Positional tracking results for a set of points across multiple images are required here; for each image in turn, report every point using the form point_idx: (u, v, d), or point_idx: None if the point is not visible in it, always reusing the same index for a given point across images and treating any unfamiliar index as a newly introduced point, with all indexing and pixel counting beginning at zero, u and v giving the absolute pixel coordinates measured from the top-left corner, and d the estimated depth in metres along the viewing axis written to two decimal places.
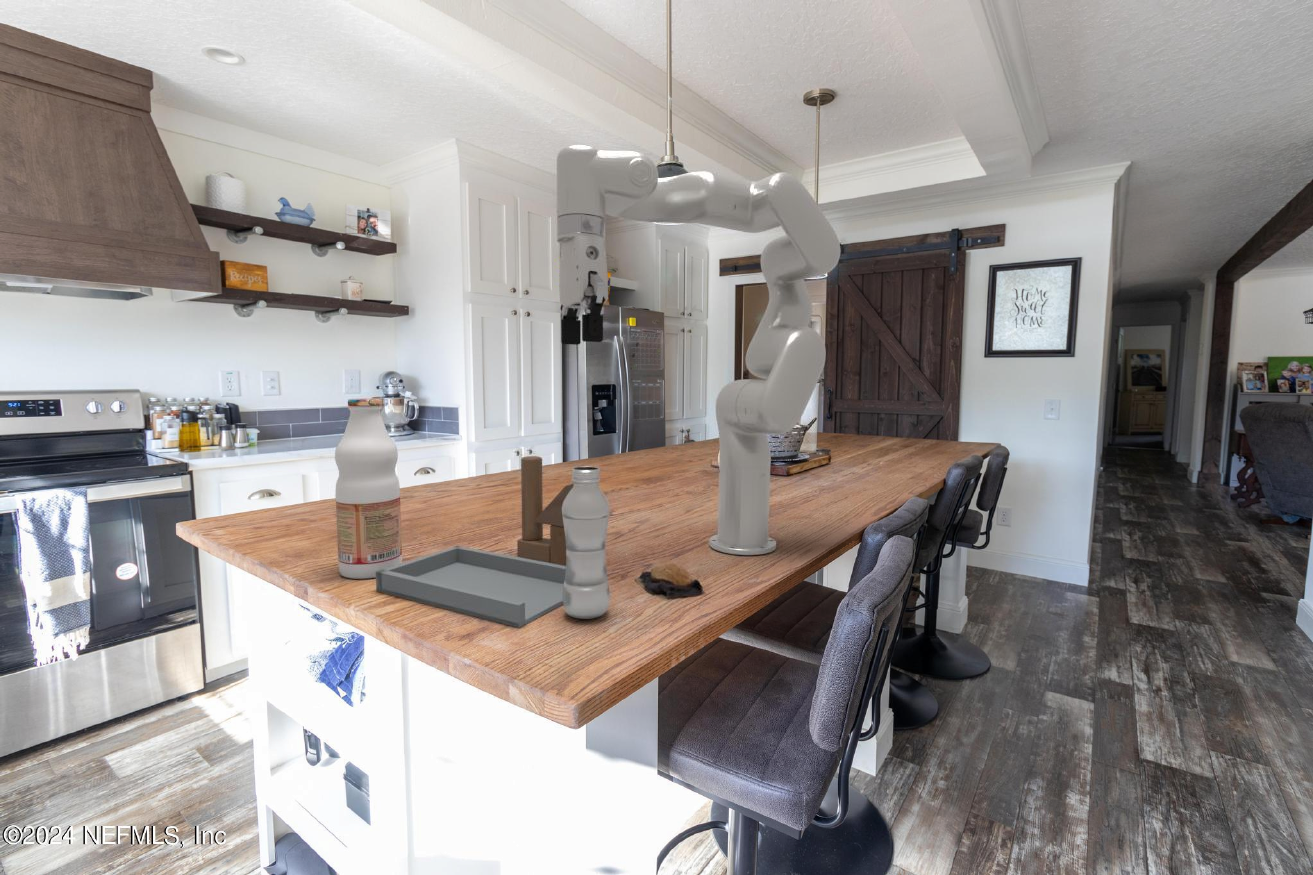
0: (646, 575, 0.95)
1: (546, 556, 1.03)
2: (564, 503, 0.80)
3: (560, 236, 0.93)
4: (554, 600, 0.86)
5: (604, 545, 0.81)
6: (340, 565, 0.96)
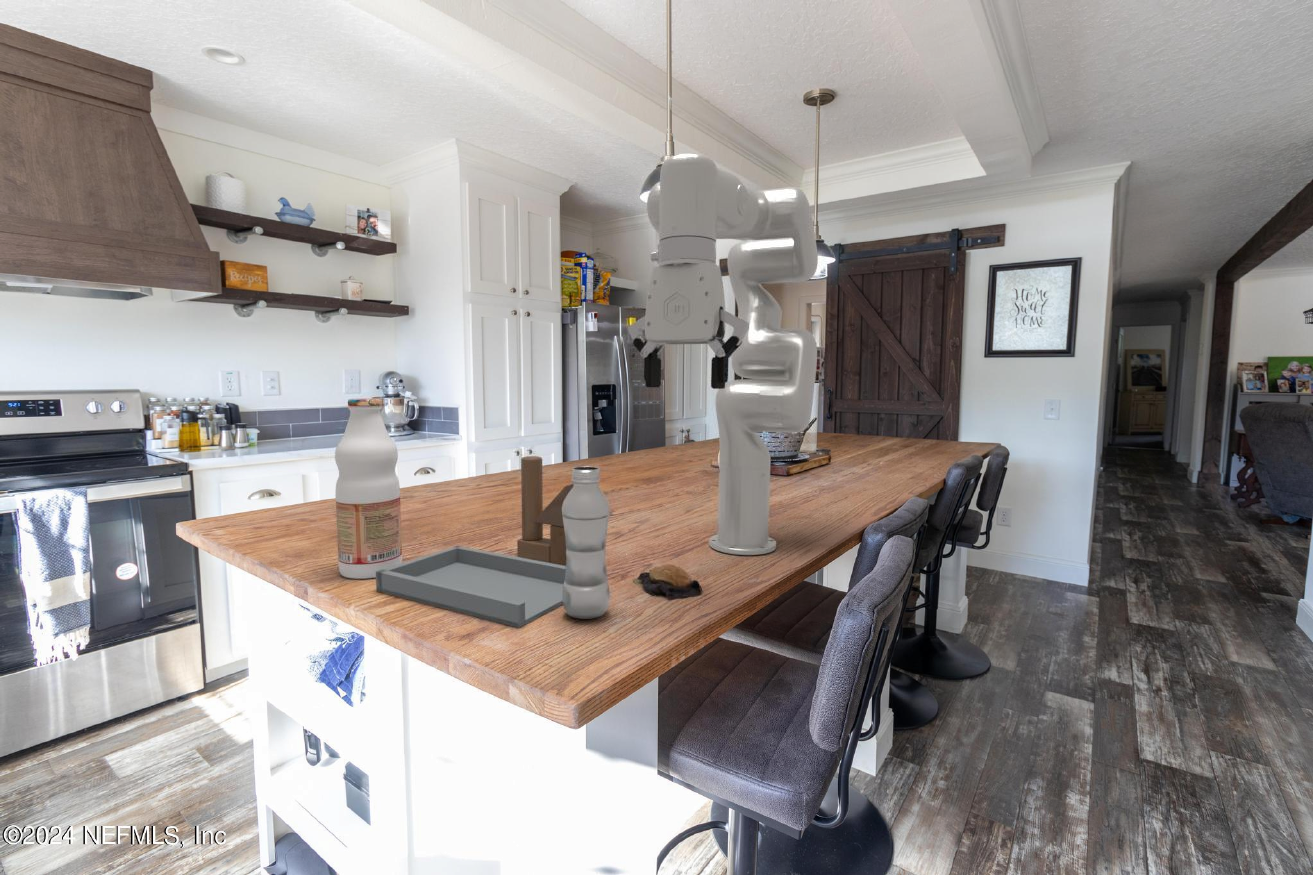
0: (644, 576, 0.95)
1: (546, 556, 1.03)
2: (564, 503, 0.80)
3: None
4: (554, 600, 0.86)
5: (604, 545, 0.81)
6: (340, 565, 0.96)
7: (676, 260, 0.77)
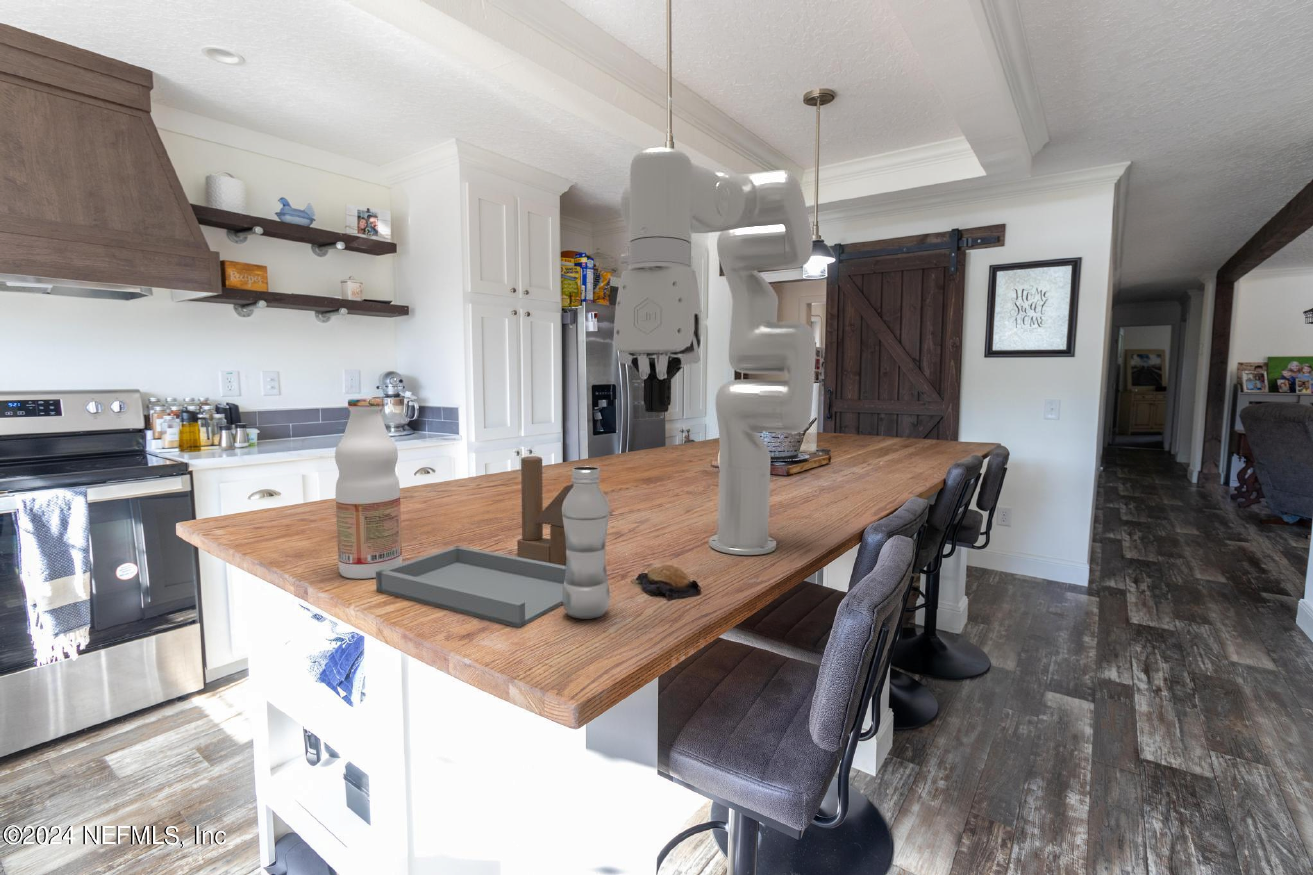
0: (643, 577, 0.95)
1: (546, 556, 1.03)
2: (564, 503, 0.80)
3: None
4: (554, 600, 0.86)
5: (604, 545, 0.81)
6: (340, 565, 0.96)
7: (647, 263, 0.71)
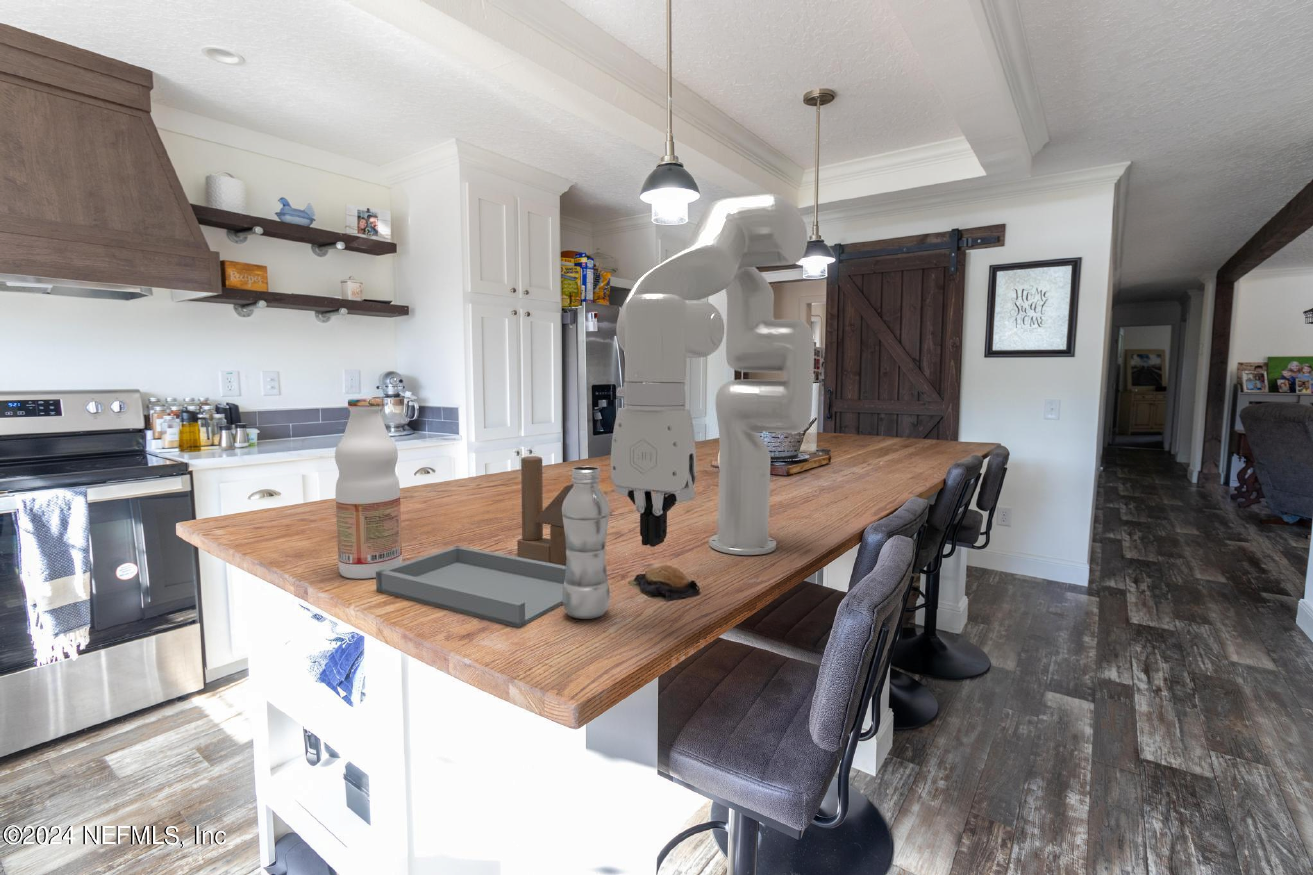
0: (640, 577, 0.94)
1: (546, 556, 1.03)
2: (564, 503, 0.80)
3: None
4: (554, 600, 0.86)
5: (604, 545, 0.81)
6: (340, 565, 0.96)
7: (642, 407, 0.72)
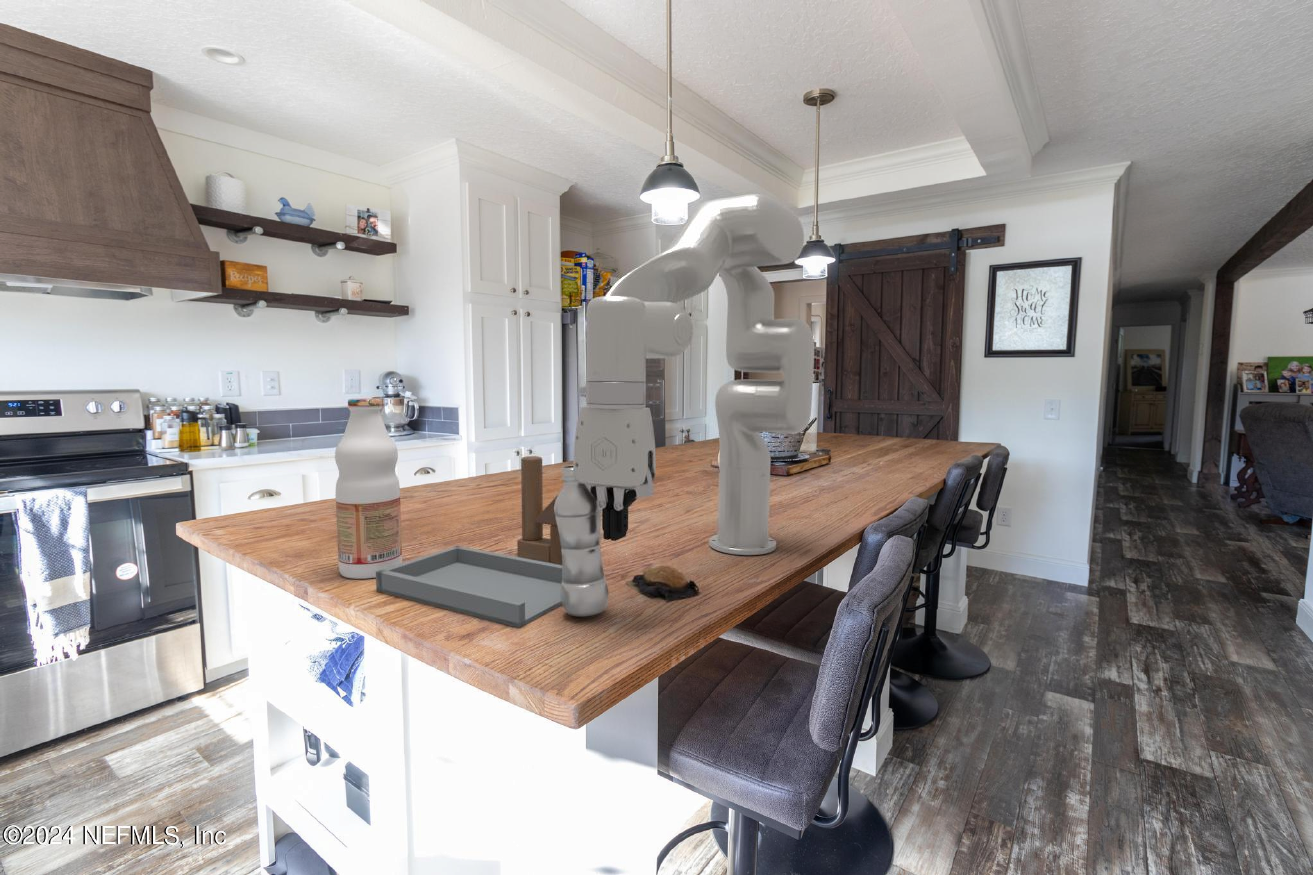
0: (639, 578, 0.94)
1: (546, 556, 1.03)
2: (556, 502, 0.80)
3: None
4: (554, 600, 0.86)
5: (598, 541, 0.81)
6: (340, 565, 0.96)
7: (602, 406, 0.74)
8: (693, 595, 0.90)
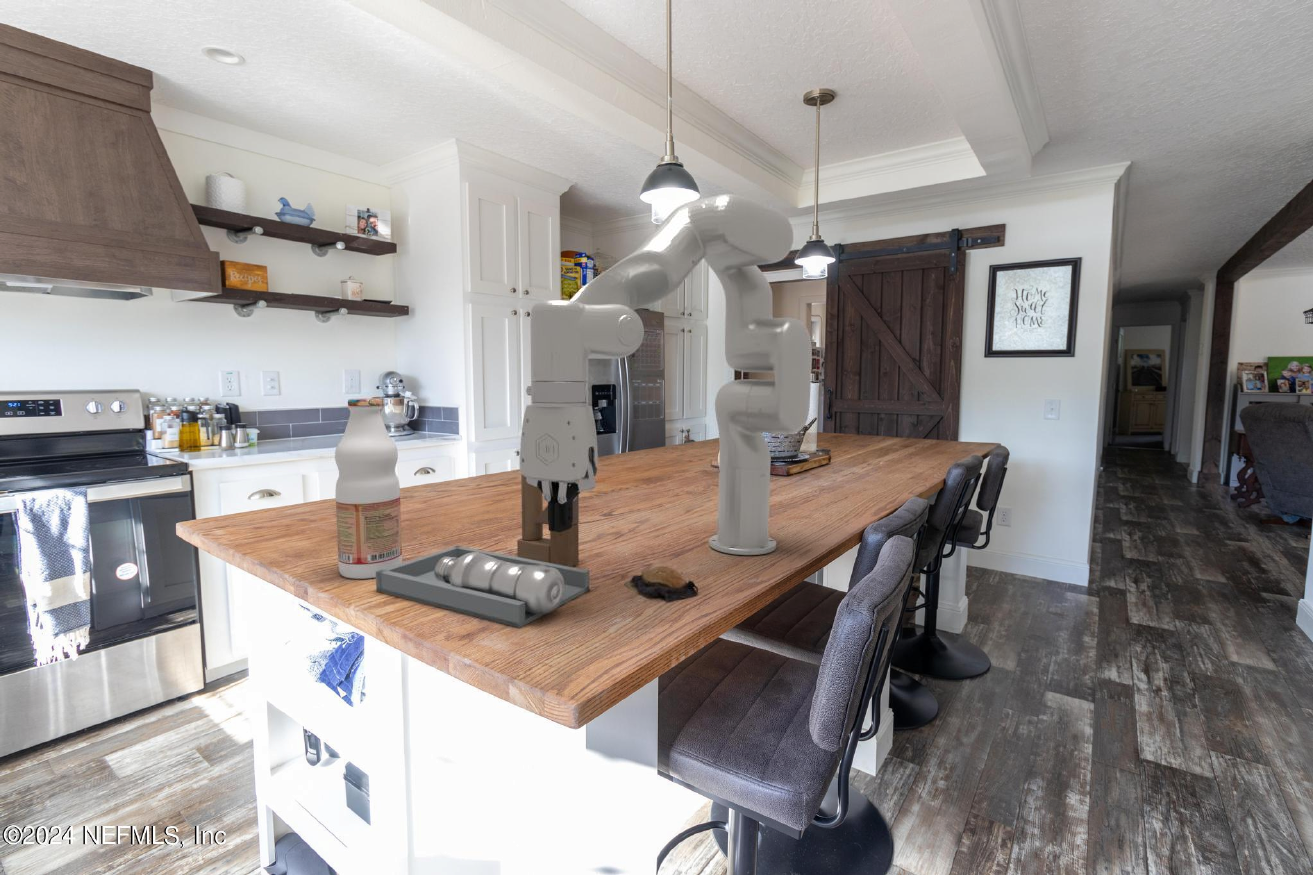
0: (637, 579, 0.94)
1: (546, 556, 1.03)
2: None
3: None
4: None
5: (488, 571, 0.83)
6: (340, 565, 0.96)
7: (544, 404, 0.79)
8: (692, 595, 0.90)
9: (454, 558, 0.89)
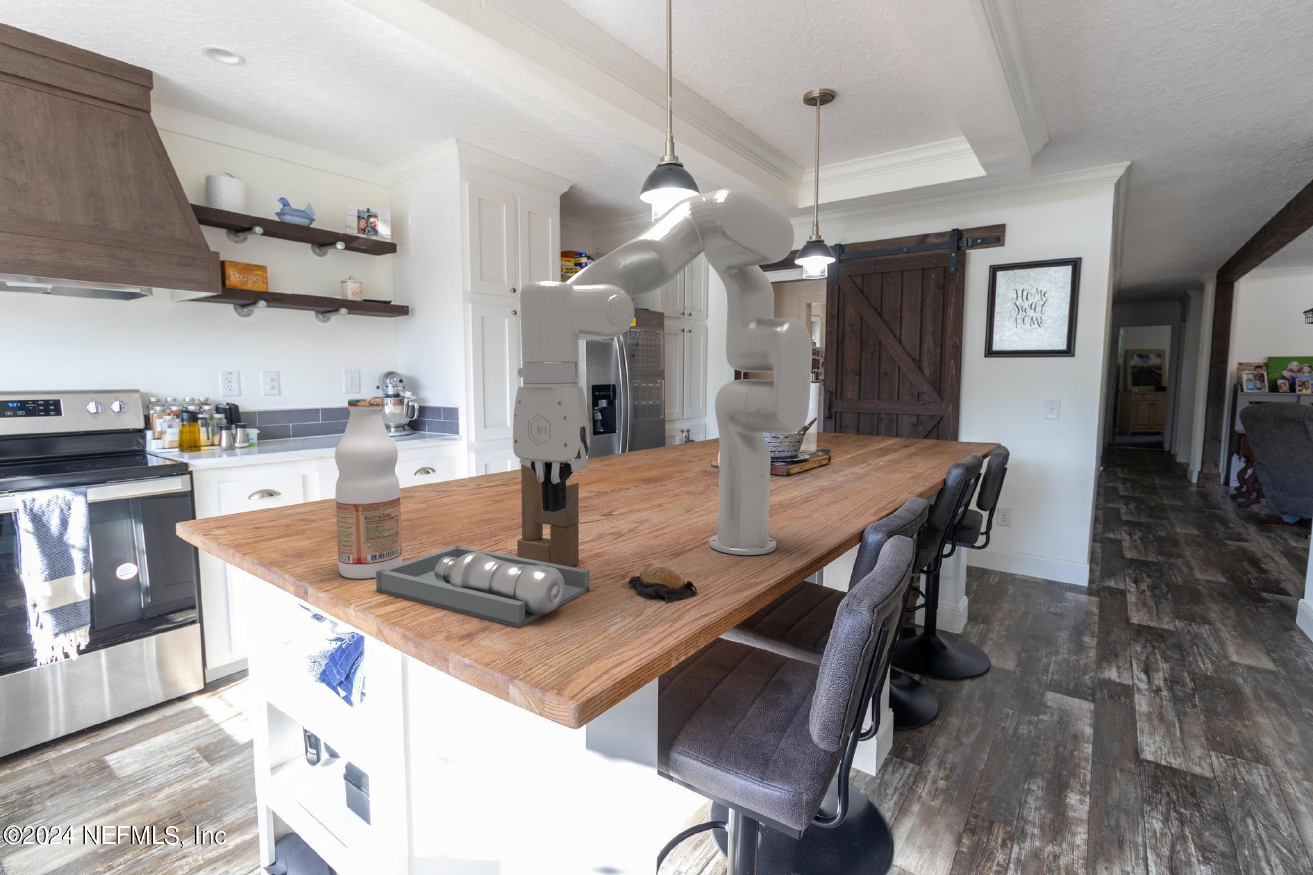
0: (635, 580, 0.93)
1: (546, 556, 1.03)
2: None
3: None
4: None
5: (488, 571, 0.83)
6: (340, 565, 0.96)
7: (535, 385, 0.79)
8: (691, 595, 0.90)
9: (454, 558, 0.89)
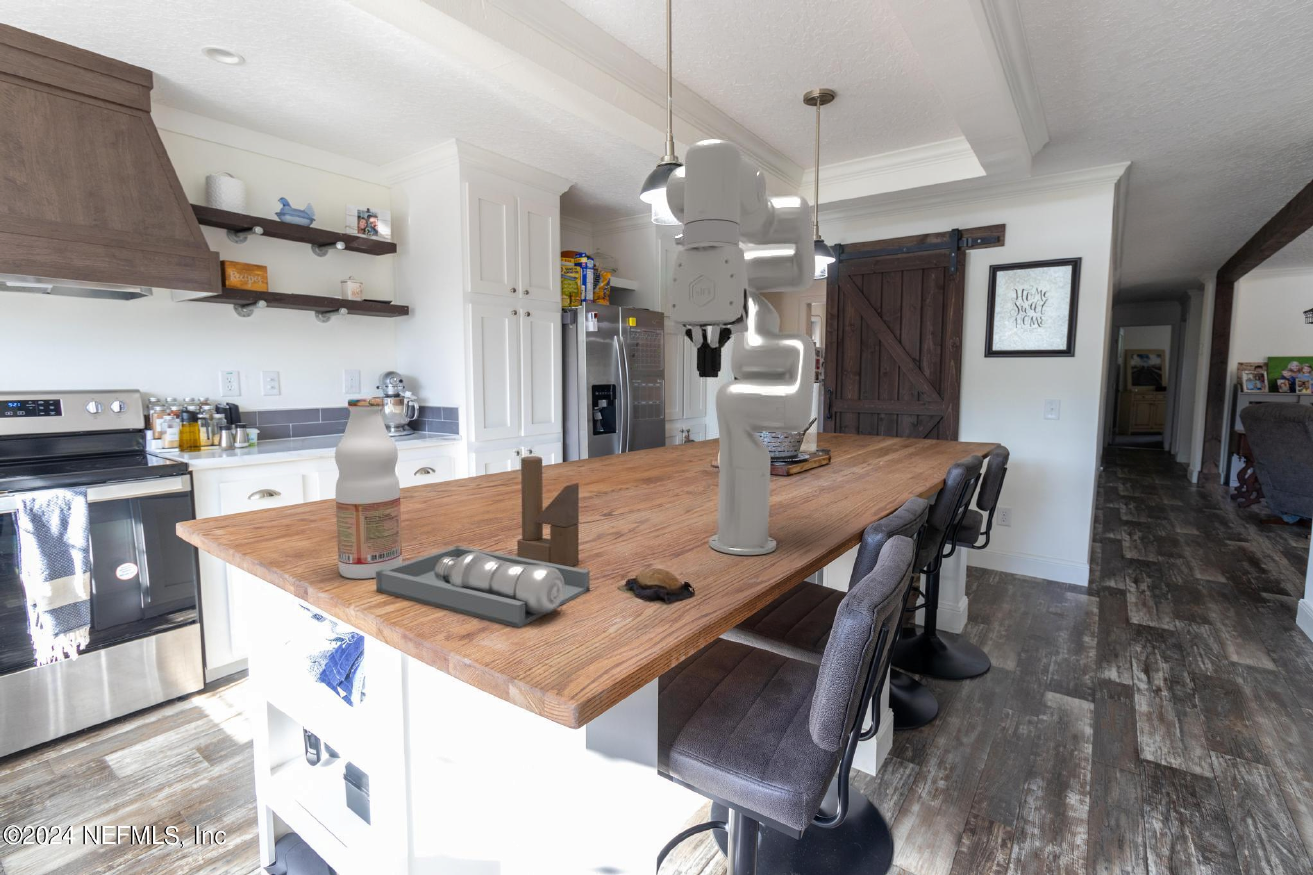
0: (631, 582, 0.92)
1: (546, 556, 1.03)
2: None
3: None
4: None
5: (488, 571, 0.83)
6: (340, 565, 0.96)
7: (702, 243, 0.79)
8: (690, 596, 0.90)
9: (454, 558, 0.89)
